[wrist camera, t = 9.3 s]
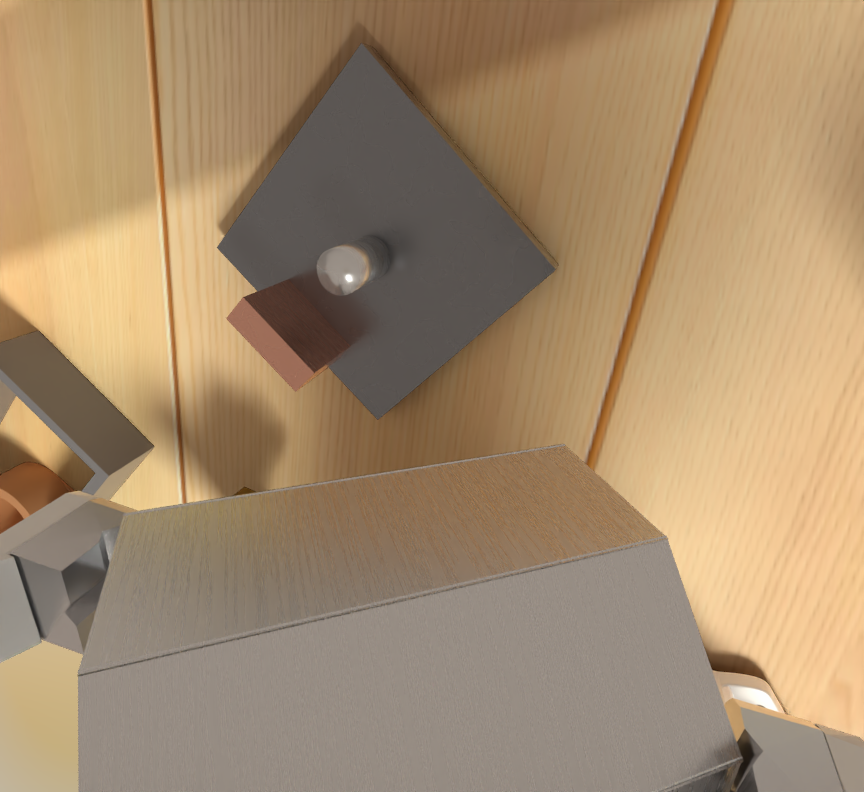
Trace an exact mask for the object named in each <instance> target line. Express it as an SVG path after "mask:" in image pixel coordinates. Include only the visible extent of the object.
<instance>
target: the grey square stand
mask: <svg viewBox="0 0 864 792" xmlns="http://www.w3.org/2000/svg"><path fill="white" fill-rule="evenodd" d="M217 248H218V249H219V250H220V251H221V252H222V254H223V255H224V256H225V257H226V258H227V259H228V260H229V261H230V262H231V263H232V264H233V265H234V266H235V267H236V269H237V270H238V271H239V272H240V273H241V274H242V275H243V276H244V277H245V278H246V279H247V280H248V281H249V282H250V284H251V285H252V286H253V287H254V288H255V289H256V290H257V291H258V292H255V293H253V294H250V295H248V296H245V297H243V298H242V299H241V301H240V302H239V303H238V305H237V306H236V307H235V308H234V310H233V311H232V312H231V313H230V315H229V316H228V317H227V318H226V319H227V320H228V321H229V322H230V323H231V324H232V325H233V326H234V327H235V328H236V329H237V330H238V331H239V332H240V333H241V334H242V335H243V337H244V338H245V339H246V340H247V341H248V342H249V343H250V344H251V345H252V346H253V347H254V348H255V349H256V350H257V351H258V352H259V353H260V354H261V356H262V357H263V358H264V359H265V360H266V361H267V362H268V363H269V364H270V365H271V366H272V367H273V368H274V369H275V370H276V371H277V372H278V373H279V375H280V376H281V377H282V378H283V379H284V380H285V381H286V382H287V383H288V384H289V385H290V386H291V387H292V388H293V389H294V390H295V391H297V390H299V389H300V388H301V387H302V386H304V385H305V384H306V383H308V382H309V381H310V380H312V379H313V378H314V377H316V376H317V375H318V374H320V373H321V372H322V371H324V370H325V369H326V368H328V367H329V368H330V369H331V370H332V371H333V372H334V374H335V375H336V376H337V377H338V378H339V379H340V380H341V381H342V382H343V383H344V384H345V385H346V386H347V387H348V389H349V390H350V391H351V392H352V393H353V394H354V395H355V396H356V397H357V398H358V399H359V400H360V401H361V402H362V404H363V405H364V406H365V407H366V408H367V409H368V410H369V411H370V412H371V413H372V414H373V415H374V416H375V417H376V419H377V420H378V419H379V418H381V417H382V416H383V415H384V414H385V413H387V412H388V411H389V410H390V409H391V408H393V407H394V406H395V405H396V404H397V403H398V402H400V401H401V400H402V399H403V398H404V397H406V396H407V395H408V394H409V393H410V392H411V391H413V390H414V389H415V388H416V387H417V386H419V385H420V384H421V383H422V382H423V381H425V380H426V379H427V378H428V377H429V376H430V375H432V374H433V373H434V372H435V371H436V370H438V369H439V368H440V367H441V366H442V365H443V364H445V363H446V362H447V361H448V360H449V359H451V358H452V357H453V356H454V355H455V354H457V353H458V352H459V351H460V350H461V349H462V348H464V347H465V346H466V345H467V344H468V343H470V342H471V341H472V340H473V339H474V338H476V337H477V336H478V335H479V334H480V333H481V332H483V331H484V330H485V329H486V328H487V327H489V326H490V325H491V324H492V323H493V322H494V321H496V320H497V319H498V318H499V317H500V316H502V315H503V314H504V313H505V312H506V311H508V310H509V309H510V308H511V307H512V306H513V305H515V304H516V303H517V302H518V301H519V300H521V299H522V298H523V297H524V296H525V295H527V294H528V293H529V292H530V291H531V290H532V289H534V288H535V287H536V286H537V285H538V284H540V283H541V282H542V281H543V280H544V279H545V278H547V277H548V276H549V275H550V274H551V273H553V272H554V271H555V270H556V269H557V267H558V263H557V262H556V261H555V260H554V259H553V258H552V256H551V255H550V254H549V253H548V252H547V251H546V249H545V248H544V247H543V246H542V245H541V244H540V242H539V241H538V240H537V239H536V238H535V237H534V235H533V234H532V233H531V232H530V231H529V230H528V228H527V227H526V226H525V225H524V224H523V222H522V221H521V220H520V219H519V218H518V217H517V215H516V214H515V213H514V212H513V211H512V210H511V208H510V207H509V206H508V205H507V204H506V203H505V201H504V200H503V199H502V198H501V197H500V196H499V194H498V193H497V192H496V191H495V190H494V189H493V187H492V186H491V185H490V184H489V183H488V182H487V180H486V179H485V178H484V177H483V176H482V174H481V173H480V172H479V171H478V170H477V169H476V167H475V166H474V165H473V164H472V163H471V162H470V160H469V159H468V158H467V157H466V156H465V155H464V153H463V152H462V151H461V150H460V149H459V148H458V146H457V145H456V144H455V143H454V142H453V141H452V139H451V138H450V137H449V136H448V135H447V134H446V132H445V131H444V130H443V129H442V128H441V127H440V125H439V124H438V123H437V122H436V121H435V119H434V118H433V117H432V116H431V115H430V114H429V112H428V111H427V110H426V109H425V108H424V107H423V105H422V104H421V103H420V102H419V101H418V100H417V98H416V97H415V96H414V95H413V94H412V93H411V91H410V90H409V89H408V88H407V87H406V86H405V84H404V83H403V82H402V81H401V80H400V79H399V77H398V76H397V75H396V74H395V73H394V71H393V70H392V69H391V68H390V67H389V66H388V64H387V63H386V62H385V61H384V60H383V59H382V57H381V56H380V55H379V54H378V53H377V52H376V50H375V49H374V48H373V47H371V46H368V45H366V44H363V43H361V44H360V46H359V47H358V49H357V50H356V51H355V53H354V54H353V56H352V57H351V59H350V60H349V61H348V63H347V64H346V66H345V67H344V68H343V70H342V71H341V73H340V74H339V76H338V77H337V78H336V80H335V81H334V83H333V84H332V85H331V87H330V88H329V90H328V91H327V92H326V94H325V95H324V97H323V98H322V100H321V101H320V102H319V104H318V105H317V107H316V108H315V109H314V111H313V112H312V114H311V115H310V117H309V118H308V119H307V121H306V122H305V124H304V125H303V126H302V128H301V129H300V131H299V132H298V134H297V135H296V136H295V138H294V139H293V141H292V142H291V143H290V145H289V146H288V148H287V149H286V150H285V152H284V153H283V155H282V156H281V158H280V159H279V160H278V162H277V163H276V165H275V166H274V167H273V169H272V170H271V172H270V173H269V175H268V176H267V177H266V179H265V180H264V182H263V183H262V184H261V186H260V187H259V189H258V190H257V192H256V193H255V194H254V196H253V197H252V199H251V200H250V201H249V203H248V204H247V206H246V207H245V208H244V210H243V211H242V213H241V214H240V216H239V217H238V218H237V220H236V221H235V223H234V224H233V225H232V227H231V228H230V230H229V231H228V233H227V234H226V235H225V237H224V238H223V240H222V241H221V242H220V244H219V245H218V247H217Z"/></svg>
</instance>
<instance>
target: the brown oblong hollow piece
mask: <svg viewBox="0 0 864 792" xmlns="http://www.w3.org/2000/svg"><path fill="white" fill-rule="evenodd" d="M68 492H74V490H73V489H72V488H71V487H70V486H69V485H68V484H66V483H65V482H64V481H63V480H62V479H61V478H60V477H59V476H57V475H56V474H55V473H54V472H53V471H51V470H50V469H48V468H46V467H45V466H43V465H40V464H37V463H33V462H25V463H22V464H20V465H18V466H16V467H14V468H12V469H11V470H9V471H7V472H5V473H3V474H1V475H0V534H1V533H3V532H4V531H6V530H7V529H9V528H11V527H12V526H14V525H16V524H17V523H19V522H20V521H22V520H24V519H25V518H27V517H28V516H30V515H32V514H33V513H35V512H36V511H38V510H40V509H41V508H43V507H45V506H46V505H48V504H49V503H51V502H53V501H54V500H56V499H57V498H59V497H61V496H62V495H64V494H65V493H68Z"/></svg>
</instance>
